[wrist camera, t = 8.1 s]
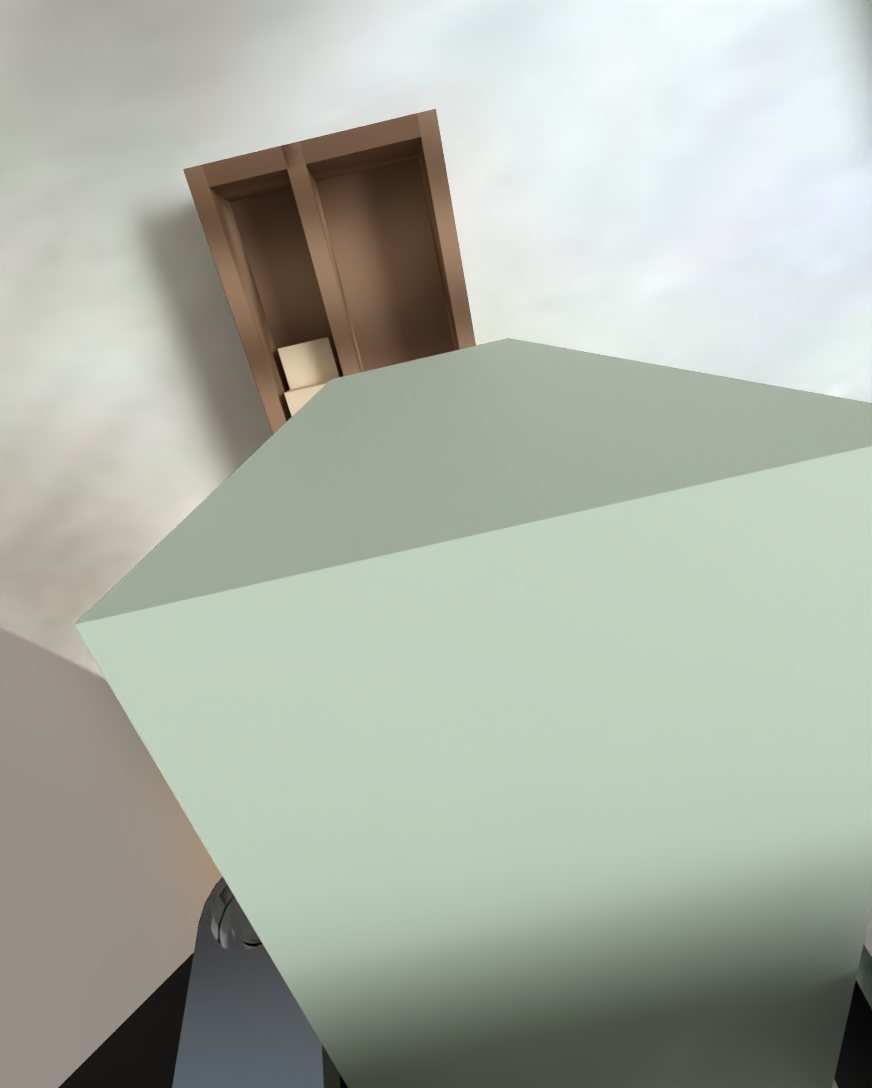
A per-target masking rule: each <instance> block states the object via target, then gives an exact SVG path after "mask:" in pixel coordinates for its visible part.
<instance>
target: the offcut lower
mask: <svg viewBox="0 0 872 1088" xmlns="http://www.w3.org/2000/svg"><path fill="white" fill-rule="evenodd" d="M278 352H279V355H280V359H281V362H282V365H283V368H284V371H285V374H286V377H287V381H288V384H289V387H290V389H294V388H298V387H303V386H307V385H311V384H316V383H320V382H324V381H329V380H331V379H335V378H339V377H343V376H342V372H341V369H340V365H339V361H338V358H337V354H336V350H335V347H334V343H333V339H332V336H330V337H326V338H322V339H317V340H313V341H309V342H305V343H300V344H296V345H292V346H287V347H283V348H279V349H278Z"/></svg>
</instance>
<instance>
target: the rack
mask: <svg viewBox="0 0 872 1088" xmlns="http://www.w3.org/2000/svg"><path fill="white" fill-rule="evenodd" d="M183 170H184V173H185V176H186V179H187V182H188V185H189V188H190V191H191V194H192V197H193V200H194V202H195V205H196V208H197V211H198V214H199V217H200V220H201V223H202V226H203V229H204V232H205V235H206V238H207V241H208V244H209V246H210V249H211V252H212V255H213V258H214V261H215V264H216V267H217V270H218V273H219V276H220V279H221V282H222V285H223V288H224V291H225V293H226V296H227V299H228V302H229V305H230V308H231V311H232V314H233V317H234V320H235V323H236V326H237V329H238V332H239V335H240V337H241V340H242V343H243V346H244V349H245V352H246V355H247V358H248V361H249V364H250V367H251V370H252V373H253V376H254V379H255V381H256V384H257V387H258V390H259V393H260V396H261V399H262V402H263V405H264V408H265V411H266V414H267V417H268V420H269V423H270V426H271V428H272V431H273V434H274V433H275V432H276V431H277V430H279V429H280V428H281V427H282V426H283V425H284V424H285V423H286V422H287V421H288V420H289V419H290V418H291V417H292V416H291V413H290V410H289V407H288V404H287V401H286V397H285V394H284V393H285V392H287V391H288V390H290V387H289V384H288V381H287V377H286V374H285V371H284V368H283V365H282V362H281V359H280V355H279V352H278V349H279V348H283V347H287V346H292V345H296V344H300V343H305V342H309V341H313V340H317V339H322V338H326V337H330V336H332V339H333V343H334V347H335V350H336V354H337V358H338V361H339V365H340V369H341V372H342V376H348V375H352V374H356V373H361V372H365V371H369V370H374V369H378V368H382V367H387V366H391V365H395V364H399V363H404V362H408V361H412V360H417V359H421V358H425V357H430V356H434V355H438V354H443V353H447V352H451V351H456V350H460V349H464V348H469V347H473V346H476V344H475V338H474V332H473V326H472V320H471V314H470V308H469V302H468V297H467V291H466V285H465V279H464V273H463V267H462V261H461V255H460V249H459V243H458V238H457V232H456V226H455V220H454V214H453V208H452V202H451V196H450V190H449V184H448V179H447V173H446V167H445V161H444V155H443V149H442V143H441V137H440V131H439V125H438V120H437V114H436V109H433V110H429V111H425V112H421V113H416V114H412V115H408V116H404V117H400V118H396V119H391V120H387V121H383V122H379V123H375V124H371V125H366V126H362V127H358V128H354V129H350V130H345V131H341V132H337V133H333V134H329V135H325V136H320V137H316V138H312V139H308V140H304V141H300V142H295V143H291V144H287V145H283V146H279V147H274V148H270V149H266V150H262V151H258V152H254V153H249V154H245V155H241V156H237V157H233V158H229V159H224V160H220V161H216V162H212V163H208V164H204V165H199V166H195V167H191V168H187V169H183Z"/></svg>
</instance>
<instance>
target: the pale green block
mask: <svg viewBox="0 0 872 1088" xmlns="http://www.w3.org/2000/svg"><path fill="white" fill-rule="evenodd" d="M74 626H75V628H76V630H77V631H78V633H79V635H80V637H81V638H82V640H83V642H84V643H85V645H86V647H87V648H88V650H89V652H90V653H91V655H92V657H93V658H94V660H95V662H96V664H97V665H98V667H99V669H100V670H101V672H102V674H103V675H104V677H105V679H106V680H107V682H108V684H109V685H110V687H111V689H112V690H113V692H114V694H115V696H116V697H117V699H118V701H119V702H120V704H121V706H122V707H123V709H124V711H125V712H126V714H127V716H128V717H129V719H130V721H131V723H132V724H133V726H134V728H135V729H136V731H137V733H138V734H139V736H140V738H141V739H142V741H143V743H144V744H145V746H146V747H147V750H148V751H149V753H150V755H151V756H152V758H153V760H154V761H155V763H156V765H157V766H158V768H159V770H160V771H161V773H162V775H163V776H164V778H165V780H166V781H167V783H168V785H169V787H170V788H171V790H172V792H173V793H174V795H175V797H176V798H177V800H178V802H179V803H180V805H181V807H182V808H183V810H184V812H185V814H186V815H187V817H188V819H189V820H190V822H191V824H192V825H193V827H194V829H195V830H196V832H197V834H198V835H199V837H200V839H201V841H202V842H203V844H204V846H205V847H206V849H207V851H208V852H209V854H210V856H211V857H212V859H213V861H214V862H215V864H216V866H217V868H218V869H219V871H220V872H221V874H222V876H223V878H224V879H225V881H226V883H227V884H228V886H229V888H230V889H231V891H232V893H233V895H234V896H235V898H236V900H237V901H238V903H239V905H240V906H241V908H242V910H243V911H244V913H245V915H246V916H247V918H248V920H249V922H250V923H251V925H252V927H253V928H254V930H255V932H256V933H257V935H258V937H259V938H260V940H261V942H262V943H263V945H264V947H265V948H266V950H267V952H268V954H269V955H270V957H271V959H272V960H273V962H274V964H275V965H276V967H277V969H278V970H279V972H280V974H281V975H282V977H283V979H284V981H285V982H286V984H287V986H288V987H289V989H290V991H291V992H292V994H293V996H294V997H295V999H296V1001H297V1002H298V1004H299V1006H300V1008H301V1009H302V1011H303V1013H304V1014H305V1016H306V1018H307V1019H308V1021H309V1023H310V1024H311V1026H312V1028H313V1029H314V1031H315V1033H316V1034H317V1036H318V1038H319V1040H320V1041H321V1043H322V1045H323V1046H324V1048H325V1050H326V1051H327V1053H328V1055H329V1056H330V1058H331V1060H332V1061H333V1063H334V1065H335V1067H336V1068H337V1070H338V1072H339V1073H340V1075H341V1077H342V1078H343V1080H344V1082H345V1083H346V1085H347V1087H348V1088H832V1086H833V1081H834V1077H835V1072H836V1068H837V1063H838V1059H839V1054H840V1050H841V1045H842V1040H843V1036H844V1031H845V1027H846V1022H847V1018H848V1013H849V1009H850V1004H851V999H852V995H853V990H854V986H855V981H856V977H857V972H858V968H859V963H860V958H861V954H862V949H863V945H864V940H865V936H866V931H867V926H868V922H869V917H870V913H871V908H872V403H868V402H862V401H857V400H851V399H846V398H840V397H834V396H829V395H823V394H818V393H812V392H806V391H801V390H795V389H790V388H784V387H778V386H773V385H767V384H762V383H756V382H750V381H745V380H739V379H734V378H728V377H722V376H717V375H711V374H706V373H700V372H694V371H689V370H683V369H678V368H672V367H667V366H661V365H655V364H650V363H644V362H639V361H633V360H627V359H622V358H616V357H611V356H605V355H599V354H594V353H588V352H583V351H577V350H571V349H566V348H560V347H555V346H549V345H543V344H538V343H532V342H527V341H521V340H515V339H510V338H508V339H503V340H499V341H495V342H490V343H486V344H482V345H477V346H473V347H469V348H464V349H460V350H456V351H451V352H447V353H443V354H438V355H434V356H430V357H425V358H421V359H417V360H412V361H408V362H404V363H399V364H395V365H391V366H387V367H382V368H378V369H374V370H369V371H365V372H361V373H356V374H352V375H348V376H343V377H339V378H335V379H331V380H330V381H329V382H328V383H327V384H326V385H325V386H324V387H323V388H322V389H320V390H319V391H318V392H317V393H316V394H315V395H314V396H313V397H312V398H311V399H310V400H309V401H308V402H307V403H306V404H305V405H304V406H303V407H302V408H301V409H299V410H298V411H297V412H296V413H295V414H294V415H293V416H292V417H291V418H290V419H289V420H288V421H287V422H286V423H285V424H284V425H283V426H282V427H281V428H280V429H279V430H277V431H276V432H275V433H274V434H273V435H272V436H271V437H270V438H269V439H268V440H267V441H266V442H265V443H264V444H263V445H262V446H261V447H260V448H259V449H258V450H257V451H255V452H254V453H253V454H252V455H251V456H250V457H249V458H248V459H247V460H246V461H245V462H244V463H243V464H242V465H241V466H240V467H239V468H238V469H237V470H236V471H234V472H233V473H232V474H231V475H230V476H229V477H228V478H227V479H226V480H225V481H224V482H223V483H222V484H221V485H220V486H219V487H218V488H217V489H216V490H215V491H214V492H212V493H211V494H210V495H209V496H208V497H207V498H206V499H205V500H204V501H203V502H202V503H201V504H200V505H199V506H198V507H197V508H196V509H195V510H194V511H193V512H191V513H190V514H189V515H188V516H187V517H186V518H185V519H184V520H183V521H182V522H181V523H180V524H179V525H178V526H177V527H176V528H175V529H174V530H173V531H172V532H171V533H169V534H168V535H167V536H166V537H165V538H164V539H163V540H162V541H161V542H160V543H159V544H158V545H157V546H156V547H155V548H154V549H153V550H152V551H151V552H150V553H149V554H147V555H146V556H145V557H144V558H143V559H142V560H141V561H140V562H139V563H138V564H137V565H136V566H135V567H134V568H133V569H132V570H131V571H130V572H129V573H128V574H126V575H125V576H124V577H123V578H122V579H121V580H120V581H119V582H118V583H117V584H116V585H115V586H114V587H113V588H112V589H111V590H110V591H109V592H108V593H107V594H106V595H104V596H103V597H102V598H101V599H100V600H99V601H98V602H97V603H96V604H95V605H94V606H93V607H92V608H91V609H90V610H89V611H88V612H87V613H86V614H85V615H84V616H82V617H81V618H80V619H79V620H78V621H77V622H76V623H75V624H74Z"/></svg>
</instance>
